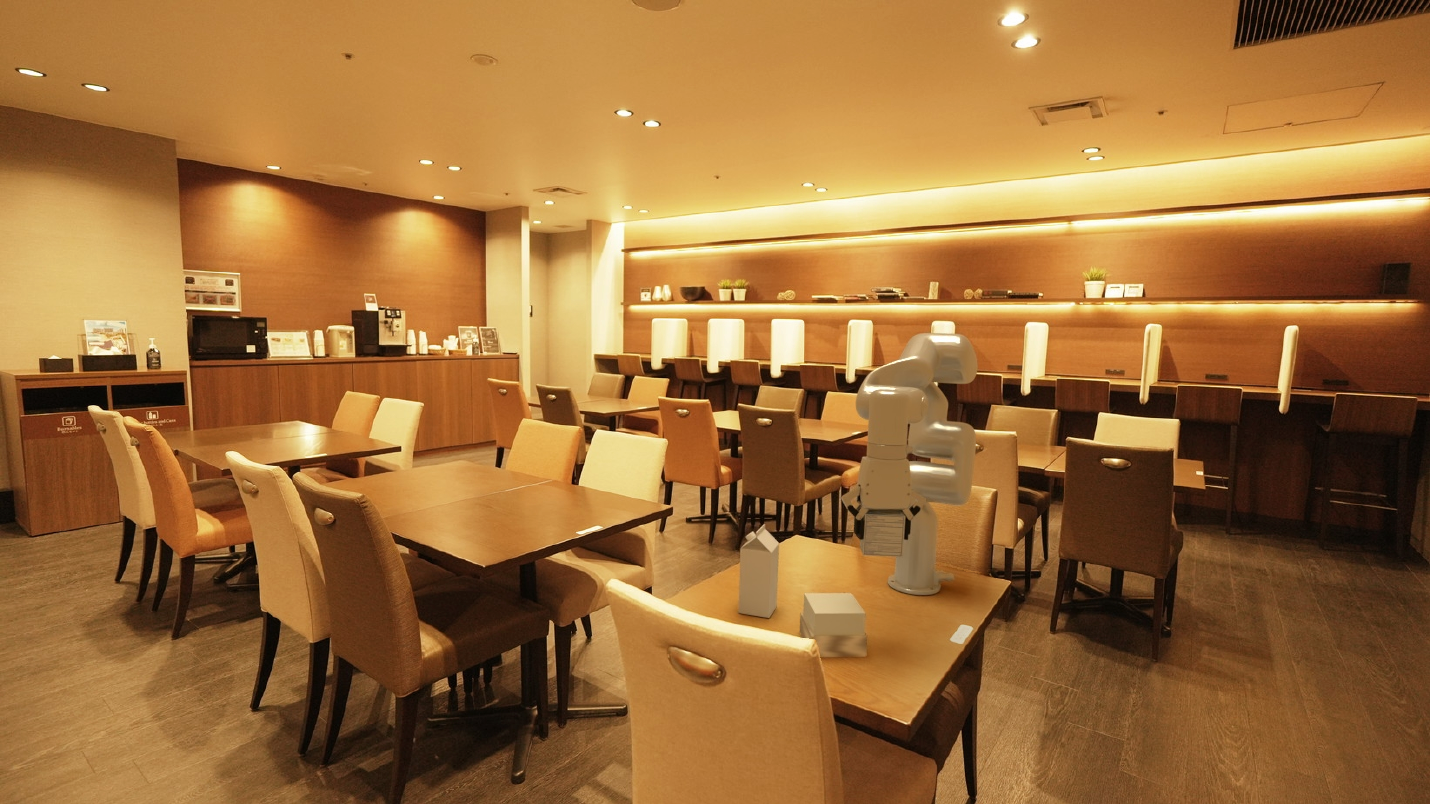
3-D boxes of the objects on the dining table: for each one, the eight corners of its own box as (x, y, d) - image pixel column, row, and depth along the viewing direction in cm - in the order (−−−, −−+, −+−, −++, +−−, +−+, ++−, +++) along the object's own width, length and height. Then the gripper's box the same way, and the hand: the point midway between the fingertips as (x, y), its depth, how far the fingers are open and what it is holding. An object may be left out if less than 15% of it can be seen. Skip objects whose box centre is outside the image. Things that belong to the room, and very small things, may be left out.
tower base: (850, 632, 141) (851, 612, 141) (866, 658, 130) (867, 636, 130) (799, 633, 140) (800, 612, 140) (810, 658, 130) (811, 636, 129)
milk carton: (776, 606, 153) (780, 525, 151) (769, 619, 146) (772, 534, 144) (747, 601, 155) (749, 522, 153) (738, 613, 148) (740, 530, 146)
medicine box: (898, 550, 136) (901, 509, 135) (903, 558, 131) (905, 515, 130) (859, 548, 136) (861, 507, 135) (862, 556, 132) (865, 513, 131)
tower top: (850, 613, 140) (851, 593, 140) (864, 635, 130) (865, 613, 130) (803, 613, 139) (804, 593, 139) (814, 635, 129) (815, 613, 129)
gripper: (921, 449, 136) (916, 532, 138) (838, 448, 135) (834, 532, 136) (936, 456, 129) (931, 543, 130) (848, 454, 127) (843, 543, 129)
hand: (881, 537), depth 133 cm, fingers closed on medicine box, 8 cm apart
